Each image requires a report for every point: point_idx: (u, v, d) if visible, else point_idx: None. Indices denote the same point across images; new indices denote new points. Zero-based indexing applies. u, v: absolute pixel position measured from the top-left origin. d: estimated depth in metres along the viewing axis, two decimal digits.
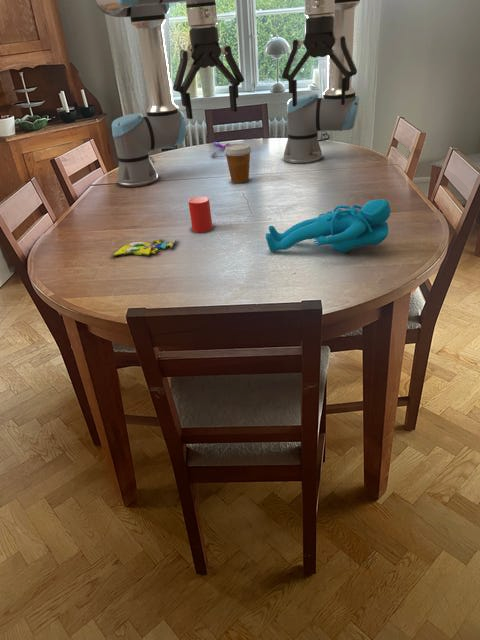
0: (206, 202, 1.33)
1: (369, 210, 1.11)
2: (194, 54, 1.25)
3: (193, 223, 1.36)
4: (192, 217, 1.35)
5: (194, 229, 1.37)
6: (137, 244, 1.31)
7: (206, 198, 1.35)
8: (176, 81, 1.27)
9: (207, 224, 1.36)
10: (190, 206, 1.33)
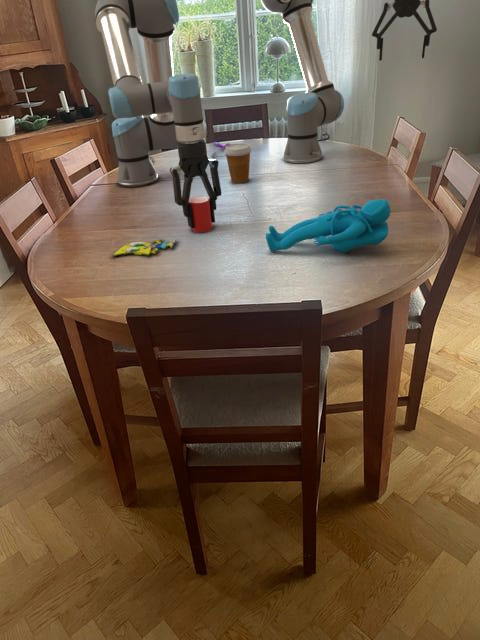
0: (206, 202, 1.33)
1: (369, 210, 1.11)
2: (182, 166, 1.27)
3: None
4: None
5: (194, 229, 1.37)
6: (137, 244, 1.31)
7: (206, 198, 1.35)
8: (176, 196, 1.30)
9: (207, 224, 1.36)
10: None
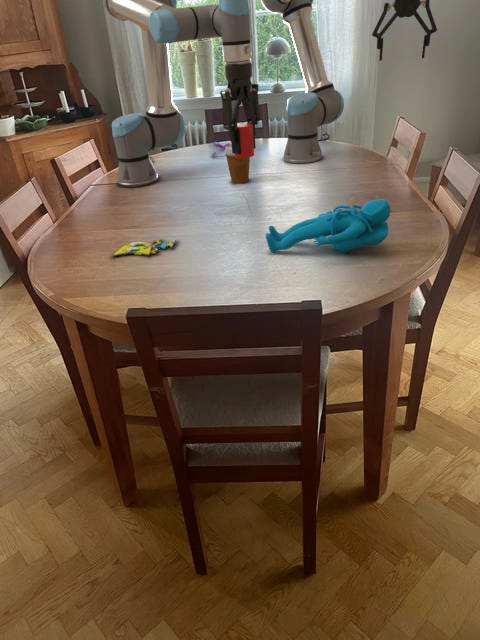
0: (252, 126, 1.37)
1: (369, 210, 1.11)
2: (233, 88, 1.30)
3: None
4: None
5: (240, 155, 1.40)
6: (137, 244, 1.31)
7: (248, 123, 1.39)
8: (226, 120, 1.33)
9: (252, 149, 1.40)
10: None
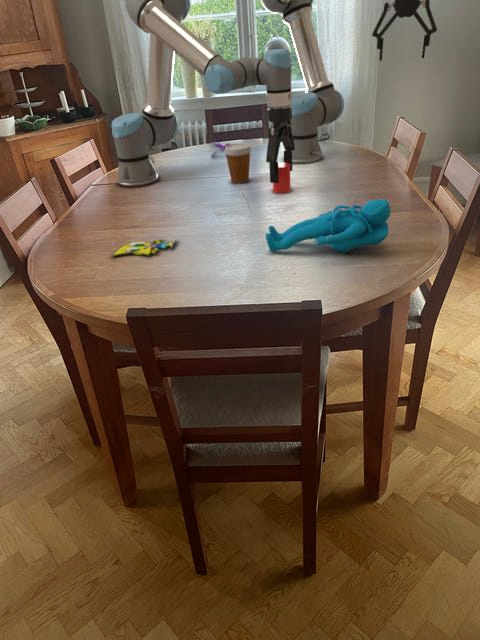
0: None
1: (369, 210, 1.11)
2: (279, 129, 1.47)
3: (280, 186, 1.58)
4: (280, 180, 1.57)
5: (281, 191, 1.59)
6: (137, 244, 1.31)
7: (284, 163, 1.58)
8: (270, 154, 1.47)
9: (290, 185, 1.60)
10: (279, 171, 1.55)
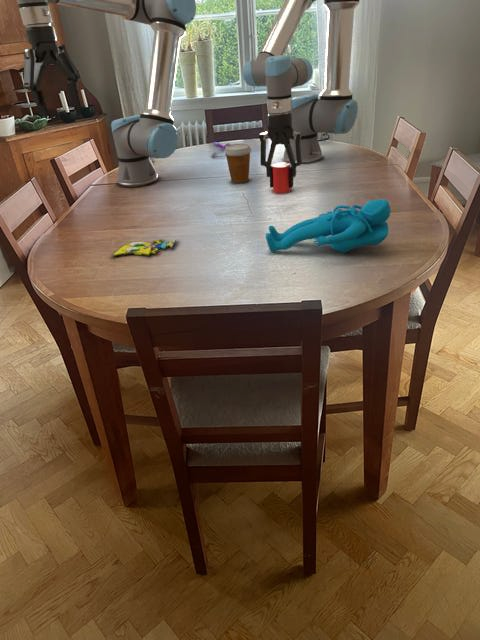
0: None
1: (369, 210, 1.11)
2: (38, 52, 1.28)
3: (280, 186, 1.58)
4: (280, 180, 1.57)
5: (281, 191, 1.59)
6: (137, 244, 1.31)
7: (284, 163, 1.58)
8: (27, 79, 1.28)
9: None
10: (279, 171, 1.55)
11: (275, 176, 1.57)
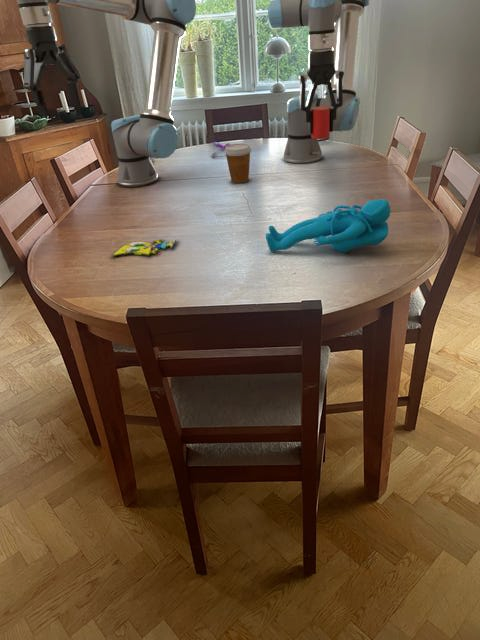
0: None
1: (369, 210, 1.11)
2: (38, 52, 1.28)
3: (323, 130, 1.52)
4: (323, 124, 1.51)
5: (323, 136, 1.53)
6: (137, 244, 1.31)
7: (321, 106, 1.52)
8: (27, 79, 1.28)
9: None
10: (322, 113, 1.49)
11: (317, 120, 1.50)
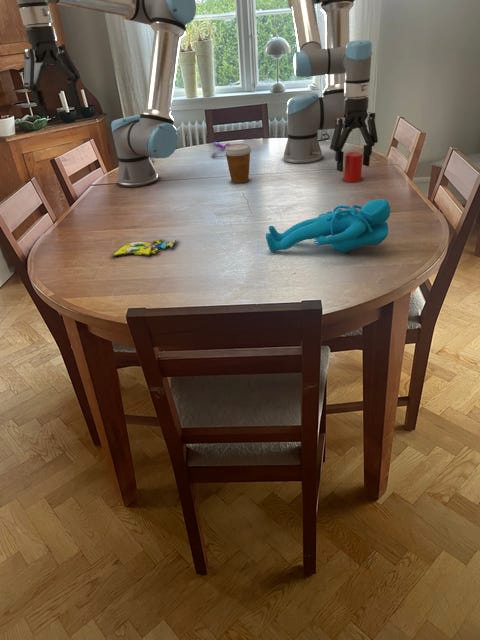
0: None
1: (369, 210, 1.11)
2: (38, 52, 1.28)
3: (358, 174, 1.62)
4: (358, 168, 1.61)
5: (358, 179, 1.63)
6: (137, 244, 1.31)
7: (352, 152, 1.63)
8: (27, 79, 1.28)
9: None
10: (358, 159, 1.59)
11: (353, 165, 1.60)
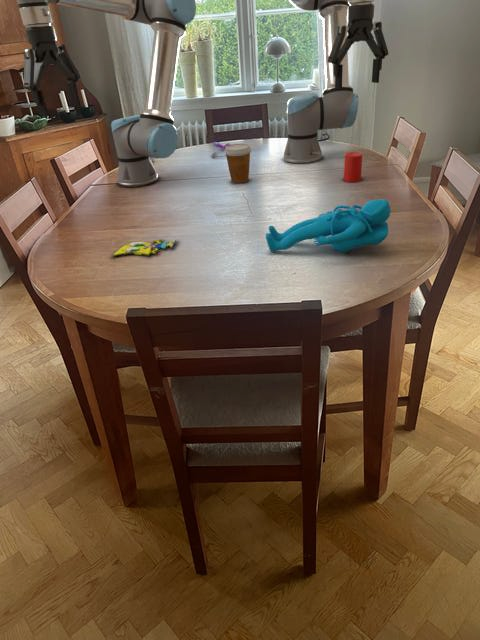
0: None
1: (369, 210, 1.11)
2: (38, 52, 1.28)
3: (358, 174, 1.62)
4: (358, 168, 1.61)
5: (358, 179, 1.63)
6: (137, 244, 1.31)
7: (352, 152, 1.63)
8: (27, 79, 1.28)
9: None
10: (358, 159, 1.59)
11: (353, 165, 1.60)
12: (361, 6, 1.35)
